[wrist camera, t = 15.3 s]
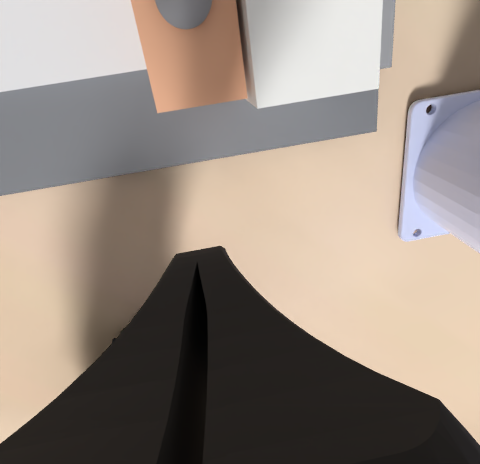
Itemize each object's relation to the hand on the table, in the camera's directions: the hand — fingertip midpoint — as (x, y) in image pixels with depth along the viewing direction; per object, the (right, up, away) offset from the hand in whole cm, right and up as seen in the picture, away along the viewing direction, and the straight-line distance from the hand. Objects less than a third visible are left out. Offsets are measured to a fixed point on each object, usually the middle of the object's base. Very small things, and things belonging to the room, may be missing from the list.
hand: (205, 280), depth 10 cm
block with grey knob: (-1, +10, +3) cm, 10 cm away
